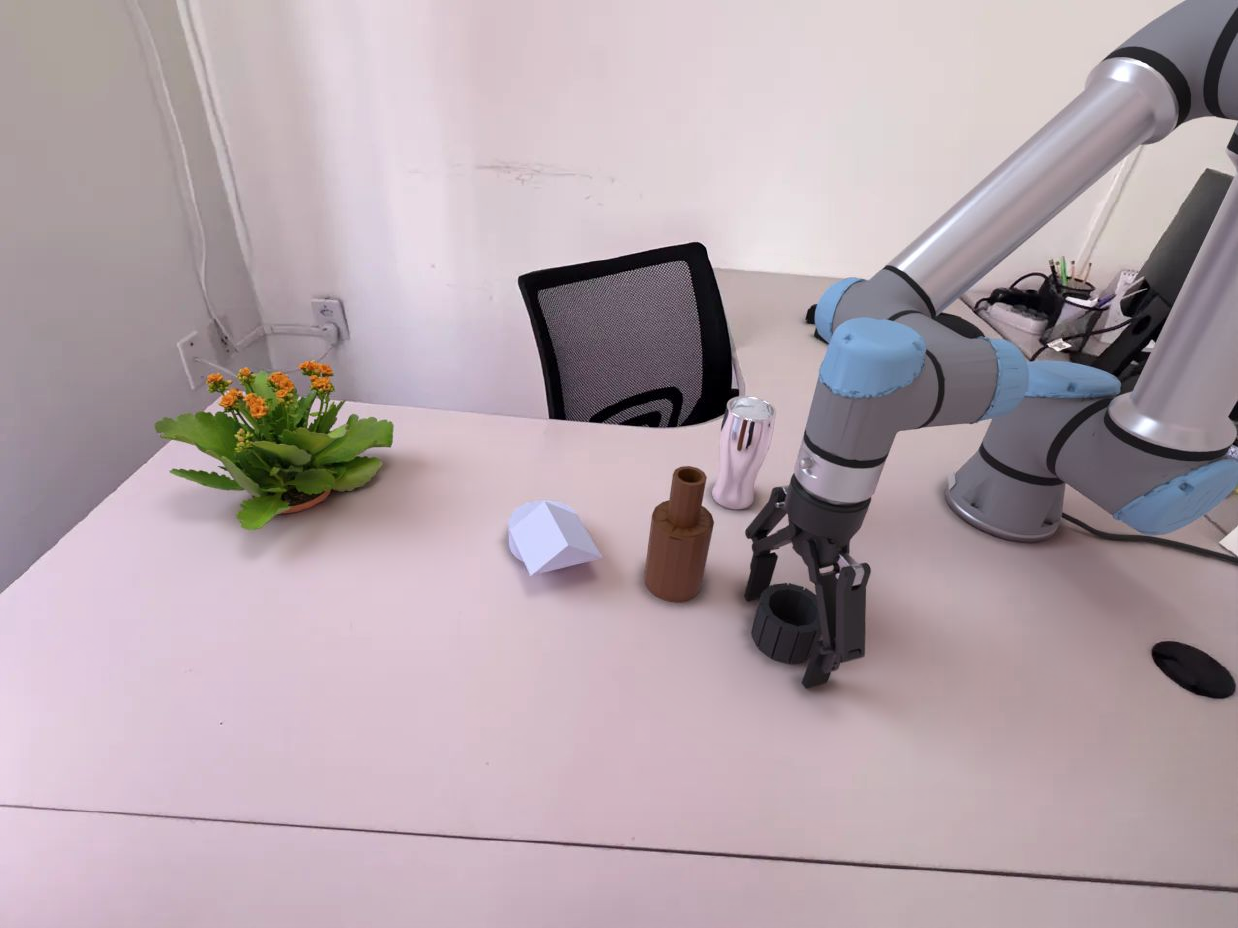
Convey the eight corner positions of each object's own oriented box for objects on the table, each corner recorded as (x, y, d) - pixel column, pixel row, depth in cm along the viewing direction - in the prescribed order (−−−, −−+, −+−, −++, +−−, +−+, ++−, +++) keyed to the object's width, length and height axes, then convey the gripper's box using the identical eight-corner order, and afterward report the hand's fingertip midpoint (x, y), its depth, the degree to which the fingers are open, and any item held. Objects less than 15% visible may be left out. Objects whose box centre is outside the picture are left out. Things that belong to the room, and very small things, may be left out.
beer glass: (755, 515, 92) (777, 425, 83) (706, 507, 93) (723, 416, 84) (757, 487, 97) (778, 399, 89) (710, 479, 98) (727, 391, 90)
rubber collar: (817, 623, 76) (828, 593, 73) (813, 671, 70) (824, 640, 67) (756, 606, 77) (764, 576, 75) (747, 652, 72) (755, 621, 69)
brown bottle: (706, 569, 82) (727, 465, 73) (694, 608, 76) (715, 501, 67) (653, 555, 84) (667, 451, 74) (637, 592, 78) (650, 485, 69)
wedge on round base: (601, 577, 80) (565, 514, 89) (604, 536, 76) (566, 474, 85) (530, 596, 76) (500, 528, 86) (530, 554, 72) (499, 487, 82)
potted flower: (337, 566, 78) (307, 444, 68) (141, 549, 78) (83, 425, 68) (404, 452, 99) (389, 345, 89) (249, 438, 99) (217, 330, 89)
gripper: (737, 422, 70) (706, 569, 82) (881, 579, 51) (814, 739, 63) (797, 414, 72) (759, 558, 84) (956, 563, 53) (877, 720, 65)
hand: (782, 636), depth 74 cm, fingers open, 12 cm apart
